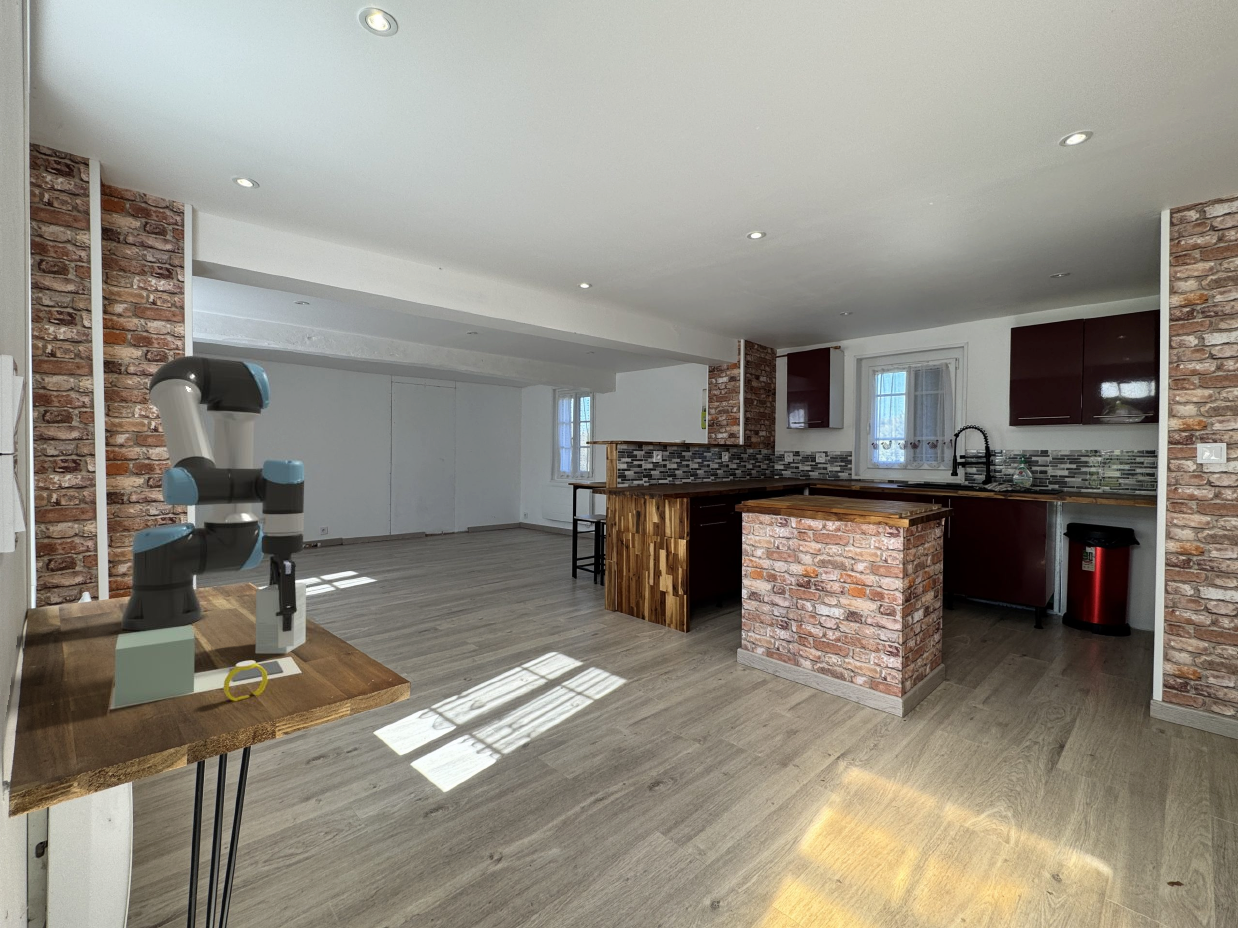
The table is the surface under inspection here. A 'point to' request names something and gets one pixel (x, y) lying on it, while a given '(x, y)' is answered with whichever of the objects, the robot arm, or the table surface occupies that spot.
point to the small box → (269, 621)
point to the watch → (245, 666)
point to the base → (234, 677)
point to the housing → (154, 664)
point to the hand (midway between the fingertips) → (281, 640)
